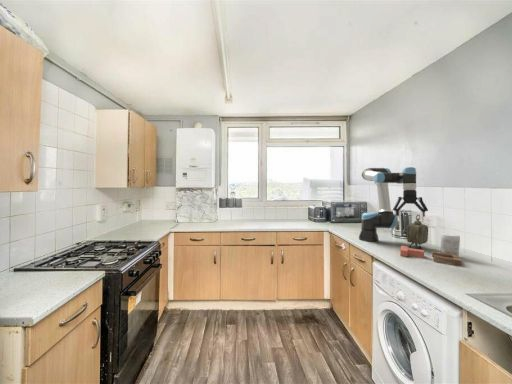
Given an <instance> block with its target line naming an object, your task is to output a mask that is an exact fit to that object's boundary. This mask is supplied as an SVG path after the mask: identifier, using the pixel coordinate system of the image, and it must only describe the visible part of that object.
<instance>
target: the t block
mask: <svg viewBox="0 0 512 384" xmlns="http://www.w3.org/2000/svg"><path fill="white" fill-rule="evenodd" d="M399 250H400V252H399V255H400V257H406V258H408V256H410V257H414V258H415V257H416V258H422V259H424V258H425V250H424V249H418V248H417V249H416V248H412V247H411V248H410V247H409V246H407V245H401V246H400V249H399Z"/></svg>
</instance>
